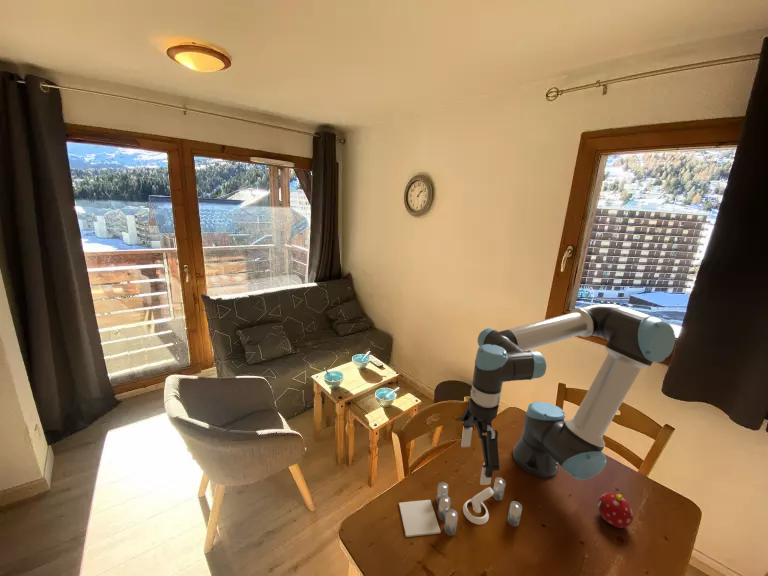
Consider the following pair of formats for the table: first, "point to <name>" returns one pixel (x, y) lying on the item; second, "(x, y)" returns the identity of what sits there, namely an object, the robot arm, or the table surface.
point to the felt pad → (419, 518)
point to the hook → (478, 506)
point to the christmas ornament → (615, 510)
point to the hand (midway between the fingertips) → (474, 463)
